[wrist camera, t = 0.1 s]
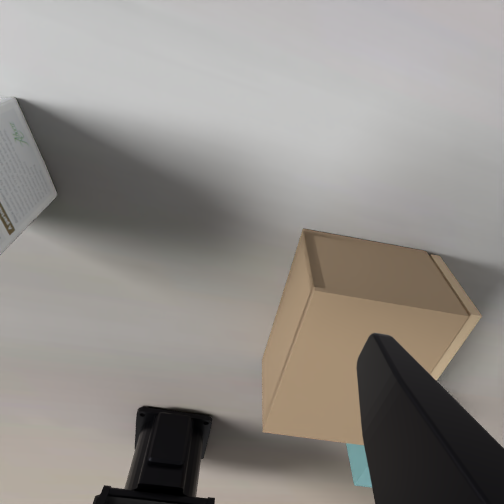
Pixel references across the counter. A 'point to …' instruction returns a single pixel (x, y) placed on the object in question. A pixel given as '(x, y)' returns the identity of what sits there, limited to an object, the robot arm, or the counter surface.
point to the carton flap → (358, 451)
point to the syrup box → (20, 175)
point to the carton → (348, 329)
